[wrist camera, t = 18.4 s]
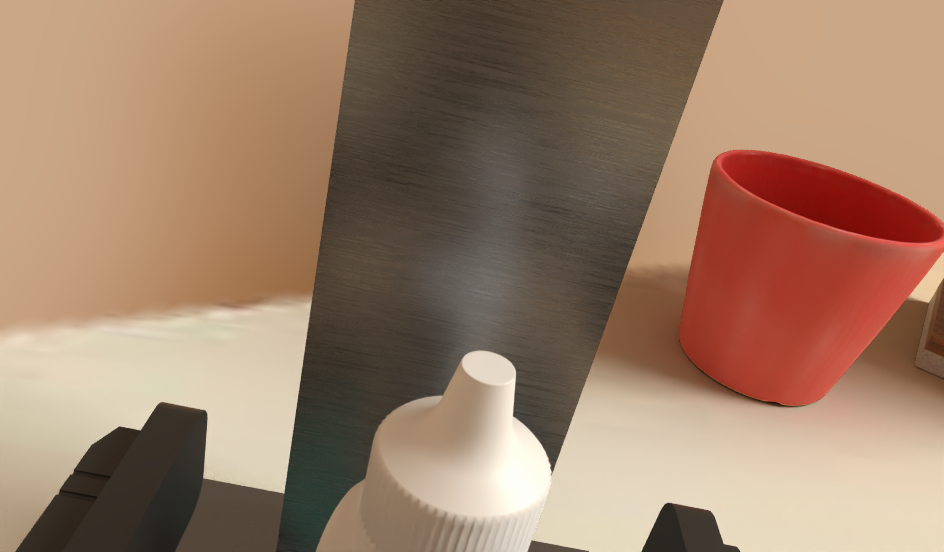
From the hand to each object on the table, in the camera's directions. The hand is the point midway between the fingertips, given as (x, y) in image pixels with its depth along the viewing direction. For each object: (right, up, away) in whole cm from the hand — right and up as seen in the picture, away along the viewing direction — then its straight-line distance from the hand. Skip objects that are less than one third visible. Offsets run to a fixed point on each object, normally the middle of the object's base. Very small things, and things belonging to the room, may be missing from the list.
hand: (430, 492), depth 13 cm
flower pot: (+15, -1, +27) cm, 31 cm away
